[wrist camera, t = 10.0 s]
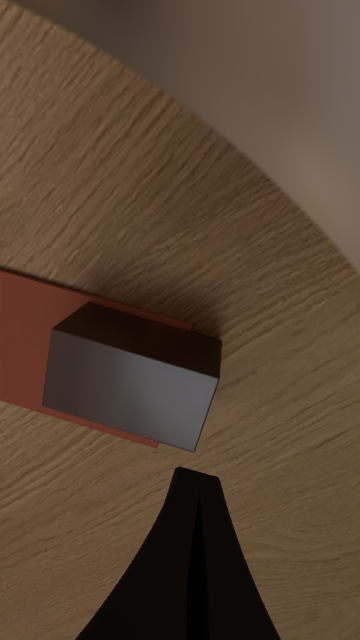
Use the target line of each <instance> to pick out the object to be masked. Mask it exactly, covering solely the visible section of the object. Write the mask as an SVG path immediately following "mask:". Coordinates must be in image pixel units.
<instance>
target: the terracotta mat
mask: <svg viewBox="0 0 360 640" xmlns="http://www.w3.org/2000/svg"><path fill="white" fill-rule="evenodd" d="M87 302H92V303H95V304H99V305H102V306H105V307H109V308H112V309H116V310H119V311H123V312H126V313H129V314H133V315H136V316H140V317H143V318H147V319H150V320H154V321H157V322H160V323H164V324H167V325H171V326H174V327H178V328H181V329H184V330H188V331H191V328H192V324H191V323H187V322H184V321H180V320H177V319H174V318H170V317H167V316H163V315H160V314H156V313H153V312H149V311H146V310H142V309H139V308H135V307H132V306H129V305H125V304H122V303H118V302H115V301H111V300H108V299H104V298H101V297H97V296H94V295H91V294H87V293H84V292H80V291H77V290H73V289H70V288H66V287H63V286H59V285H56V284H52V283H49V282H46V281H42V280H39V279H35V278H32V277H28V276H25V275H21V274H18V273H14V272H11V271H7V270H4V269H1V268H0V400H1V401H4V402H8V403H11V404H14V405H17V406H21V407H24V408H27V409H30V410H34V411H37V412H40V413H43V414H47V415H50V416H53V417H56V418H60V419H63V420H66V421H69V422H73V423H76V424H79V425H82V426H86V427H89V428H92V429H95V430H99V431H102V432H105V433H108V434H112V435H115V436H118V437H121V438H125V439H128V440H131V441H134V442H138V443H141V444H144V445H147V446H151V447H154V448H157V447H158V444H159V442H158V441H154V440H151V439H148V438H145V437H141V436H138V435H135V434H132V433H128V432H125V431H122V430H119V429H115V428H112V427H109V426H106V425H102V424H99V423H96V422H93V421H89V420H86V419H83V418H80V417H76V416H73V415H70V414H66V413H63V412H60V411H57V410H53V409H50V408H47V407H44V406H42V400H43V392H44V384H45V376H46V368H47V360H48V352H49V344H50V336H51V329H52V328H53V327H54V326H55V325H57V324H58V323H60V322H61V321H62V320H64V319H65V318H66V317H68V316H69V315H71V314H72V313H73V312H75V311H76V310H77V309H79V308H80V307H82V306H83V305H84V304H86V303H87Z"/></svg>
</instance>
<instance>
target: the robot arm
mask: <svg viewBox="0 0 360 640" xmlns="http://www.w3.org/2000/svg"><path fill="white" fill-rule="evenodd" d="M75 640H281V639H280V637H279V635H278V633H277V631H276V629H275V627H274V625H273V622H272V620H271V618H270V616H269V614H268V612H267V610H266V608H265V606H264V603H263V601H262V599H261V597H260V594H259V592H258V590H257V588H256V585H255V583H254V580H253V578H252V575H251V573H250V571H249V568H248V566H247V563H246V560H245V558H244V555H243V553H242V550H241V547H240V544H239V541H238V539H237V536H236V533H235V530H234V527H233V524H232V521H231V518H230V515H229V511H228V508H227V505H226V501H225V498H224V494H223V490H222V486H221V482H220V480H219V478H218V477H216V476H212V475H208V474H205V473H201V472H198V471H194V470H191V469H187V468H183V467H177V468H175V471H174V474H173V477H172V480H171V484H170V487H169V490H168V493H167V496H166V499H165V502H164V505H163V507H162V509H161V511H160V513H159V515H158V517H157V519H156V521H155V523H154V525H153V527H152V529H151V530H150V532H149V534H148V536H147V537H146V539H145V541H144V543H143V544H142V546H141V548H140V549H139V551H138V553H137V554H136V556H135V558H134V559H133V561H132V562H131V564H130V565H129V567H128V568H127V570H126V571H125V573H124V574H123V576H122V577H121V579H120V580H119V582H118V583H117V585H116V586H115V588H114V589H113V590H112V592H111V593H110V595H109V596H108V597H107V599H106V600H105V602H104V603H103V604H102V606H101V607H100V608H99V610H98V611H97V612H96V614H95V615H94V616H93V618H92V619H91V620H90V622H89V623H88V624H87V625H86V627H85V628H84V629H83V630H82V632H81V633H80V634H79V635H78V637H77V638H76V639H75Z"/></svg>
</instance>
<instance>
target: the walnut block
mask: <svg viewBox="0 0 360 640" xmlns="http://www.w3.org/2000/svg"><path fill="white" fill-rule="evenodd" d="M221 350H222V340H219V339H215V338H212V337H209V336H205V335H202V334H198V333H195V332H191V331H188V330H184V329H181V328H178V327H174V326H171V325H167V324H164V323H160V322H157V321H154V320H150V319H147V318H143V317H140V316H136V315H133V314H129V313H126V312H123V311H119V310H116V309H112V308H109V307H105V306H102V305H99V304H95V303H92V302H87V303H86V304H84V305H83V306H82V307H80V308H79V309H77V310H76V311H75V312H73V313H72V314H71V315H69V316H68V317H66V318H65V319H64V320H62V321H61V322H60V323H58V324H57V325H55V326H54V327H53V328H52V329H51V336H50V344H49V352H48V360H47V368H46V376H45V384H44V392H43V400H42V406H44V407H47V408H50V409H53V410H57V411H60V412H63V413H66V414H70V415H73V416H76V417H80V418H83V419H86V420H89V421H93V422H96V423H99V424H102V425H106V426H109V427H112V428H115V429H119V430H122V431H125V432H128V433H132V434H135V435H138V436H141V437H145V438H148V439H151V440H154V441H158V442H161V443H164V444H167V445H171V446H174V447H177V448H180V449H184V450H187V451H190V452H195V450H196V447H197V444H198V441H199V438H200V435H201V432H202V429H203V426H204V423H205V420H206V417H207V414H208V411H209V408H210V405H211V402H212V400H213V397H214V394H215V391H216V388H217V385H218V382H219V379H220V365H221Z"/></svg>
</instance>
